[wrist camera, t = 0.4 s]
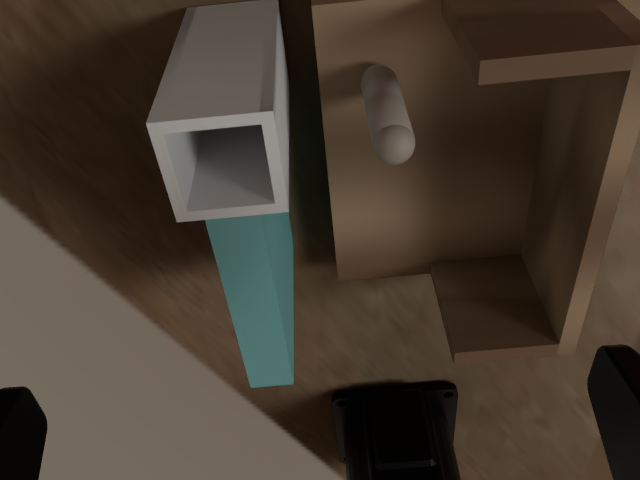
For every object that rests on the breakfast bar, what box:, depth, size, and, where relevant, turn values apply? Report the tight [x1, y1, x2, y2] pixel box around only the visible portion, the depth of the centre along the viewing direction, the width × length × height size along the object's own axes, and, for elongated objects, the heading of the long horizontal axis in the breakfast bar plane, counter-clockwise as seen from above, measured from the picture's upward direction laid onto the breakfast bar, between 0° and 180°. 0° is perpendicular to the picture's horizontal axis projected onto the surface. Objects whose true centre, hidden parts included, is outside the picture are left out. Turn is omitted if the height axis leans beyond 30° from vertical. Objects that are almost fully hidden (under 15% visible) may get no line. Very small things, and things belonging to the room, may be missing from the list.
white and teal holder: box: [146, 0, 294, 388], centre depth 19 cm, size 10×3×7 cm, turn 5°
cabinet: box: [311, 0, 640, 364], centre depth 20 cm, size 11×8×6 cm
